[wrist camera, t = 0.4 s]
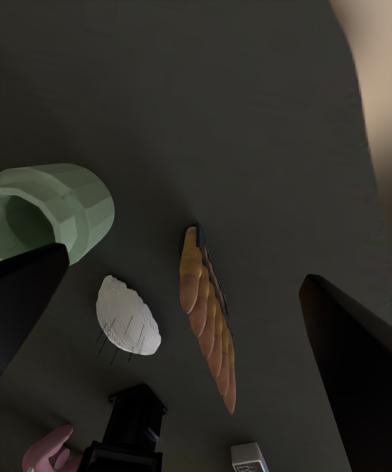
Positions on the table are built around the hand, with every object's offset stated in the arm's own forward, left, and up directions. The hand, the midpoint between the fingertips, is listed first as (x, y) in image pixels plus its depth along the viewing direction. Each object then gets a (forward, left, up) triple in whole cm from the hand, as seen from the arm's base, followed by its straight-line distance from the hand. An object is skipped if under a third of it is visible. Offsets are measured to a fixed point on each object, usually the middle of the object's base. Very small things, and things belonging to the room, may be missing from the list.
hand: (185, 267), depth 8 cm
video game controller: (-37, -27, -15) cm, 48 cm away
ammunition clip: (-3, -8, -15) cm, 17 cm away
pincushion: (-13, -10, -15) cm, 22 cm away
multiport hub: (-12, -47, -15) cm, 50 cm away
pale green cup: (-11, +4, -14) cm, 19 cm away
